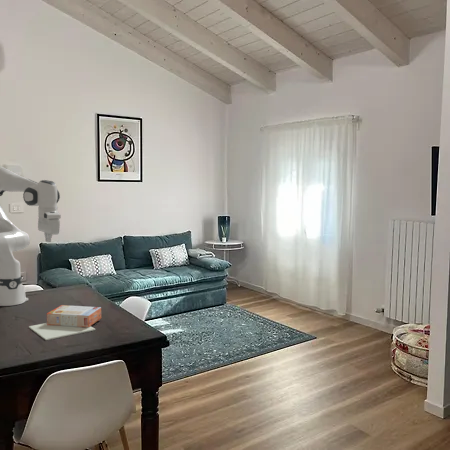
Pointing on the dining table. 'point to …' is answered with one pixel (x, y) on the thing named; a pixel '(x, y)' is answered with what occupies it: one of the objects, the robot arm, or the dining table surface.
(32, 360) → the dining table surface
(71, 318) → the cracker box
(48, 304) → the dining table surface
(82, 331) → the mat
